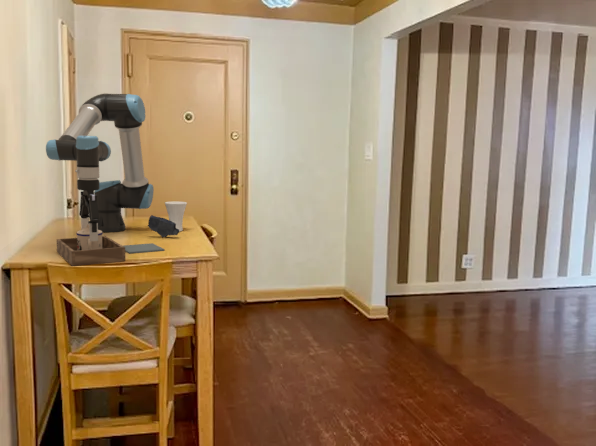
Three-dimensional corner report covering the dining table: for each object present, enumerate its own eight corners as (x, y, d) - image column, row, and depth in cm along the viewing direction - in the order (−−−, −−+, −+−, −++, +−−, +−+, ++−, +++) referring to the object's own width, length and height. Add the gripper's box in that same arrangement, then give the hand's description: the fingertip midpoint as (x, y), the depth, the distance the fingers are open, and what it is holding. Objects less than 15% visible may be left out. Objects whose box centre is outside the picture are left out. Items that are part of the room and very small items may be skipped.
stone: (179, 236, 252) (179, 214, 251) (179, 238, 246) (179, 216, 245) (147, 236, 249) (147, 214, 248) (147, 238, 244) (146, 216, 242)
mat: (118, 247, 223) (118, 245, 223) (152, 244, 231) (152, 243, 231) (129, 253, 212) (129, 252, 212) (164, 250, 219) (164, 249, 219)
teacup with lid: (77, 253, 209) (76, 223, 207) (103, 252, 212) (102, 222, 210) (76, 260, 198) (75, 228, 196) (103, 259, 201) (102, 227, 199)
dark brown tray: (56, 252, 210) (56, 239, 210) (105, 248, 220) (105, 235, 220) (72, 266, 189) (71, 251, 188) (125, 261, 199) (125, 247, 198)
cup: (160, 231, 265) (160, 202, 263) (173, 228, 274) (172, 200, 272) (178, 233, 261) (178, 204, 259) (191, 230, 271) (191, 202, 269)
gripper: (69, 176, 208) (71, 233, 212) (85, 181, 189) (86, 244, 192) (90, 176, 213) (92, 232, 216) (108, 181, 193) (109, 243, 196)
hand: (89, 238), depth 204 cm, fingers open, 12 cm apart
